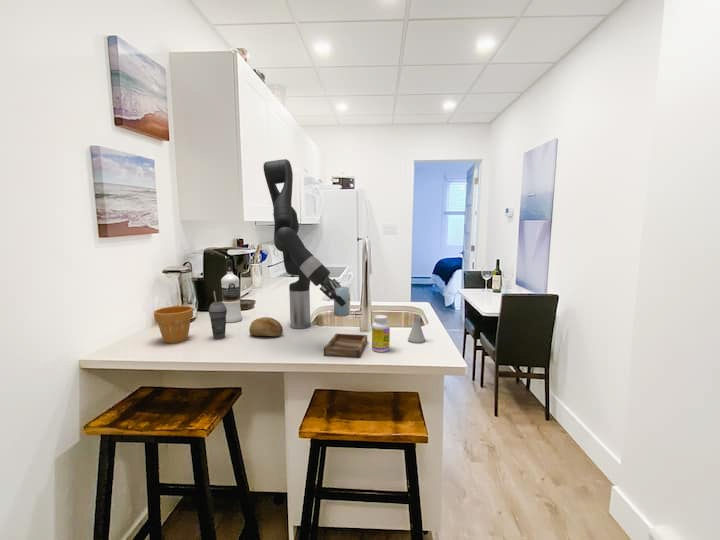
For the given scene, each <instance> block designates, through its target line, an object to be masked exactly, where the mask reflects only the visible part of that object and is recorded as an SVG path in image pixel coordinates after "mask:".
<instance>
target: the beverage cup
mask: <svg viewBox="0 0 720 540" xmlns="http://www.w3.org/2000/svg"><path fill="white" fill-rule="evenodd" d="M213 298H214V301H213V302H212V303H211V304H210V306H209V308H208V315H209V317H210V323H211V324H210V325H211V332H212V336H213V339H214V340H223V339H225V338H226V326H227V323H226V314H227V308H226V306H225V304H224V303H222V301H220V300H219V301H217V297H216V291H215V290H214V291H213ZM222 338H223V339H222Z"/></svg>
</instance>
